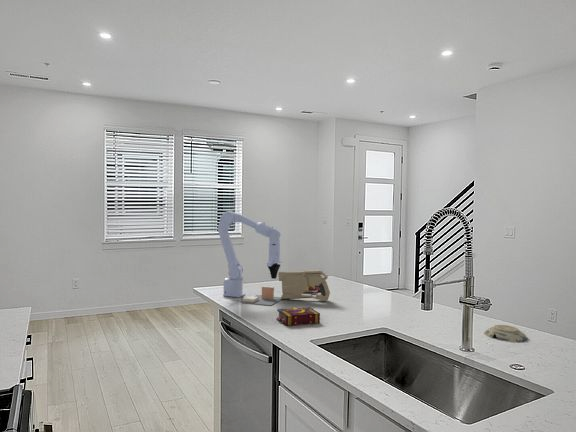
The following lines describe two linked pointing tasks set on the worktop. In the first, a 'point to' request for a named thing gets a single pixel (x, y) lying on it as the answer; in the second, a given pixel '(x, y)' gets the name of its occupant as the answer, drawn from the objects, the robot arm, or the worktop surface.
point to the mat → (265, 301)
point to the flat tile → (250, 299)
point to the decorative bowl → (506, 333)
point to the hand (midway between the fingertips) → (273, 278)
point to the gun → (303, 284)
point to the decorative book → (298, 316)
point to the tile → (267, 292)
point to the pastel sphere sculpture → (312, 289)
